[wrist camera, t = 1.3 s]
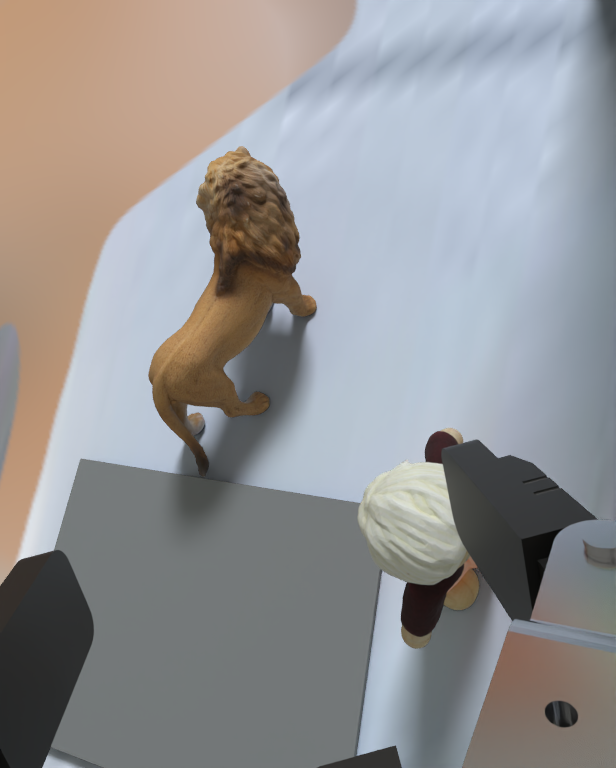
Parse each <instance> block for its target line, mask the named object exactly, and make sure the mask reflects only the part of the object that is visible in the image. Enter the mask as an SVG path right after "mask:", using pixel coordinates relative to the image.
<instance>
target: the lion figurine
mask: <svg viewBox="0 0 616 768" xmlns="http://www.w3.org/2000/svg"><path fill="white" fill-rule="evenodd" d="M196 204H197V205H198V207H199V208H200V209H202V210H203V212H204V215H205V220H206V226H207V229H208V231H209V233H210V246H211V248H212V251H213V252H214V254H215V258H214V273H213V275H212V277H211V280H210V282H209V284H208V286H207V287H206V289H205V290H204V292H203V294H202V295H201V297H200V299H199V300H198V302H197V303H196V305H195V308H194V310H193V312H192V314H191V316H190V317H189V319H188V320H187V322H186V323H185V324H184V325H183V327H182V328H181V329H180V330H178V331H177V332H176V333H175V334H174V335H172V336H171V337H170V338H168V339H167V340H166V341H165V342H164V343H163V344H162V345H161V346H160V347H159V349H158V350H157V351H156V353H155V354H154V356H153V359H152V362H151V366H150V369H149V374H148V375H149V380H150V382H151V384H152V385H153V391H152V393H153V400H154V404H155V407H156V409H157V411H158V413H159V415H160V417H161V418H162V419H163V421H164V422H165V423H166V424H167V425H168V426H169V428H170V429H171V430H173V431H174V432H175V433H176V434H177V435H178V436H179V437H180V438H181V439H182V440H183V441H184V442H185V443H186V444H187V445H188V446H189V447H190V449H191V451H192V452H193V454H194V455H195V458H196V463H197V465H198V470H199V474H200V475H201V476H203V477H204V476H206V472H207V470H208V467H209V462H208V459H207V456H206V454H205V452H204V450H203V448H202V447H201V445H200V444H199V443H198V442H197V441H196V439H195V438H194V437H193V436H194V435H197V434H198V433H199V432H200V431H201V430H202V429H203V427H204V425H205V420H204V418H203V416H202V415H201V414H200V413H195V414H191V415H189V416H187V405H188V404H189V405H194V406H204V407H217V408H221V409H222V410H223V411H224V413H225V414H226V415H227V416H228V417H237V416H243V415H258V414H261V413H263V412H264V411H266V410H267V409H268V407H269V405H270V401H269V398H268V397H267V396H266V395H265V394H263V393H261V392H254V393H253V394H252V395H251V396H250V397H249V398H248V400H247V401H246V402H242V401H240V400H239V399H238V396H237V393H236V390H235V386H234V383H233V382H232V381H231V379H229V378H228V377H227V375H226V374H225V373H224V370H223V368H224V366H225V364H226V363H227V362H228V361H229V360H231V359H232V358H234V357H235V356H236V355H238V354H239V353H240V352H242V351H243V350H244V349H245V348H247V347H248V346H249V345H250V344H251V342H252V341H253V340H254V338H255V337H256V336H257V334H258V333H259V331H260V329H261V328H262V325H263V323H264V321H265V318H266V316H267V313H268V311H269V310H270V309H271V307H272V305H273V303H277V304H279V303H282V304H285V305H286V306H287V307H288V308H289V310H290V312H291V314H293V315H298V316H302V317H304V316H308V315H311V314H312V313H314V312H315V310H316V308H317V306H316V301H315V300H314V299H313V298H312V297H311V296H309V295H308V296H306V295H302V294H301V290H300V287H299V285H298V283H297V282H296V280H295V279H294V278H293V276H292V273H293V272H295V269H296V264H297V263H298V262H299V259H300V258H301V254H300V249H299V247H298V242H299V232H298V229H297V227H296V225H295V222H294V215H293V212H292V211H291V210H290V203H289V201H288V199H287V196H286V193H285V191H284V189H283V188H282V187H281V186H280V184H279V179H278V177H277V176H276V175H275V174H274V173H273V171H272V169H271V168H270V167H268V166H267V165H265V164H264V163H262V162H260V161H257V160H256V159H254V158H253V157H251V156H250V154H249V152H248V150H247V149H246V148H244V147H243V146H241V147H238V149H237V150H236V151H235V152H233V151H229V152H227V153H226V154H225V156H223V157H220V158H217V159H216V160H215V161H211V162H210V164H209V166H208V172H207V174H206V175H205V182H204V183H203V184H201V185H200V187H199V191H198V196H197V200H196Z"/></svg>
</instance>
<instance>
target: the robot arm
mask: <svg viewBox="0 0 616 768" xmlns="http://www.w3.org/2000/svg"><path fill="white" fill-rule="evenodd" d="M441 457H442V463H443V469H444V474H445V479H446V484H447V489H448V494H449V500H450V505H451V510H452V515H453V519H454V523H455V526H456V529H457V532H458V535H459V537H460V539H461V541H462V543H463V545H464V547H465V548H466V550H467V551H468V553H469V555H470V556H471V558H472V559H473V561H474V562H475V564H476V565H477V567H478V569H479V570H480V572H481V573H482V575H483V576H484V578H485V579H486V581H487V582H488V584H489V586H490V587H491V589H492V590H493V592H494V593H495V595H496V596H497V598H498V600H499V601H500V603H501V604H502V606H503V607H504V609H505V610H506V612H507V613H508V615H509V617H510V618H511V620H512V623H511V625H510V627H509V630H508V632H507V635H506V638H505V641H504V644H503V647H502V650H501V653H500V656H499V659H498V662H497V665H496V668H495V671H494V674H493V677H492V680H491V683H490V686H489V689H488V692H487V695H486V698H485V701H484V703H483V706H482V709H481V712H480V715H479V718H478V721H477V724H476V727H475V730H474V733H473V736H472V739H471V742H470V745H469V748H468V751H467V754H466V757H465V760H464V763H463V766H462V768H616V521H615V520H602V519H601V520H598V519H597V518H595V517H594V516H593V515H592V514H591V513H590V512H589V511H587V510H586V509H585V508H584V507H583V506H582V505H580V504H579V503H578V502H577V501H576V500H575V499H573V498H572V497H571V496H570V495H569V494H568V493H566V492H565V491H564V490H563V489H562V488H560V489H559V486H558V485H557V484H556V483H555V482H554V481H552V480H551V479H550V478H547V476H546V475H545V474H544V473H543V472H542V471H541V470H540V469H538V468H537V467H536V466H535V465H534V464H533V463H531V462H528V461H525V460H522V459H519V458H516V457H514V456H511V455H509V456H505V457H501V458H497V457H496V456H495V455H494V454H493V453H492V452H491V451H490V450H489V449H487V448H486V447H485V446H484V445H483V444H482V443H481V442H480V441H479V440H473V441H469V442H465V443H462V444H458V445H454V446H450V447H447V448H443V449H442V451H441ZM93 636H94V624H93V618H92V614H91V611H90V608H89V606H88V604H87V601H86V599H85V597H84V594H83V592H82V590H81V587H80V585H79V583H78V580H77V578H76V576H75V573H74V571H73V569H72V566H71V564H70V562H69V560H68V558H67V556H66V555H65V554H64V552H62V551H60V550H55V551H51V552H47V553H44V554H40V555H36V556H32V557H28V558H25V559H21V560H20V561H18V562H17V564H16V565H15V566H14V568H13V569H12V571H11V572H10V573H9V575H8V576H7V578H6V579H5V580H4V582H3V583H2V584H1V586H0V768H42V767H43V765H44V762H45V760H46V757H47V755H48V752H49V750H50V747H51V745H52V742H53V740H54V737H55V735H56V732H57V730H58V727H59V725H60V722H61V720H62V717H63V715H64V712H65V710H66V707H67V705H68V702H69V700H70V697H71V695H72V692H73V690H74V687H75V685H76V682H77V680H78V678H79V675H80V673H81V670H82V668H83V665H84V663H85V660H86V658H87V655H88V653H89V650H90V648H91V645H92V642H93ZM317 768H402V767H401V763H400V759H399V756H398V752H397V748H396V746H392V747H388V748H385V749H381V750H377V751H374V752H370V753H366V754H363V755H359V756H355V757H352V758H348V759H344V760H341V761H337V762H333V763H330V764H326V765H322V766H319V767H317Z"/></svg>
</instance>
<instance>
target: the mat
mask: <svg viewBox="0 0 616 768" xmlns="http://www.w3.org/2000/svg"><path fill="white" fill-rule="evenodd" d="M360 504H361V503H355V502H349V501H343V500H337V499H330V498H324V497H318V496H312V495H305V494H299V493H293V492H286V491H280V490H274V489H268V488H261V487H255V486H249V485H243V484H236V483H230V482H224V481H217V480H211V479H205V478H199V477H192V476H186V475H180V474H174V473H167V472H161V471H155V470H148V469H142V468H136V467H130V466H123V465H117V464H111V463H105V462H98V461H92V460H86V459H80V462H79V466H78V469H77V473H76V476H75V480H74V483H73V487H72V490H71V494H70V497H69V500H68V504H67V507H66V511H65V514H64V518H63V521H62V525H61V528H60V532H59V535H58V539H57V542H56V545H55V549H54V551H55V550H60V551H62V552H64V554H65V555H66V556H67V558H68V560H69V562H70V564H71V566H72V569H73V571H74V573H75V576H76V578H77V580H78V583H79V585H80V587H81V590H82V592H83V594H84V597H85V599H86V601H87V604H88V606H89V608H90V611H91V614H92V618H93V624H94V636H93V642H92V645H91V648H90V650H89V653H88V655H87V658H86V660H85V663H84V665H83V668H82V670H81V673H80V675H79V678H78V680H77V682H76V685H75V687H74V690H73V692H72V695H71V697H70V700H69V702H68V705H67V707H66V710H65V712H64V715H63V717H62V720H61V722H60V725H59V727H58V730H57V732H56V735H55V737H54V740H53V742H52V745H51V747H52V748H54V749H57V750H59V751H62V752H64V753H67V754H70V755H72V756H75V757H77V758H80V759H82V760H85V761H88V762H90V763H93V764H95V765H98V766H100V767H103V768H317V767H319V766H322V765H326V764H330V763H333V762H337V761H341V760H344V759H348V758H352V757H355V756H356V753H357V746H358V739H359V731H360V724H361V717H362V710H363V702H364V695H365V688H366V681H367V673H368V666H369V659H370V651H371V644H372V637H373V630H374V622H375V615H376V608H377V601H378V593H379V586H380V579H381V572H382V570H381V569H380V568H379V567H378V566H377V565H376V564H375V562H374V560H373V559H372V557H371V554H370V552H369V548H368V546H367V541H366V538H365V537H364V535H363V534H362V532H361V529H360V527H359V524H358V519H357V516H358V509H359V506H360Z"/></svg>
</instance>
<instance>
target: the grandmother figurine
mask: <svg viewBox="0 0 616 768" xmlns="http://www.w3.org/2000/svg"><path fill="white" fill-rule="evenodd" d="M462 443H463V437H462V435H461V433H460V432H458V431H457V430H455V429H452V428H446V429H443V430H441V431H437V432H435V433H434V434H432V435H431V436H430V438H429V440H428V442H427V444H426V448H425V459H426V462H420V463H414V464H411V463H409V462H408V460H405V462H402V463H401V464H399V465H398V466H396V467H395V468H394V469H393V470H390V471H388V472H385V473H383V474H380V475H379V476H377V477H376V478H375V479H374V481H372V482H371V483H370V484H369V485H368V486H367V488H366V490H365V492H364V496H363V500H362V502H361V504H360V506H359V509H358V516H357V519H358V524H359V527H360V529H361V532H362V534H363V535H364V537H365V538H366V541H367V546H368V548H369V552H370V554H371V557H372V559H373V560H374V562H375V564H376V565H377V566H378V567H379V568H380V569H381V570H383V571H384V572H386V573H387V574H389V575H391V576H394V577H396V578H398V579H400V580H403V581H405V582H407V584H406V587H405V590H404V595H403V604H402V611H401V622H402V628H401V634H402V638H403V640H404V642H405V643H406V644H407V645H409V646H410V647H412V648H415V649H417V648H422V647H425V646H426V645H427V644H428V642H429V641H430V638H431V633H432V630H433V629H434V628H435V626H436V624H437V622H438V620H439V618H440V615H441V611H442V608H443V604H444V605H445V606H446V607H448V608H450V609H453V610H464V609H466V608H468V607H470V606H471V605H472V604H473V603H474V601H475V600H476V597H477V595H478V592H479V580H478V577H477V575H476V574H475V572H474V571H473V570H472V569H473V568H478V567H477V565H476V564H475V562H474V561H473V559H472V558H471V556H470V555H469V553H468V551H467V550H466V548H465V547H464V545H463V543H462V541H461V539H460V537H459V535H458V532H457V529H456V526H455V523H454V519H453V515H452V510H451V505H450V500H449V494H448V489H447V484H446V479H445V474H444V469H443V463H442V457H441V451H442V449H443V448H447V447H450V446H454V445H458V444H462Z"/></svg>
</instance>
